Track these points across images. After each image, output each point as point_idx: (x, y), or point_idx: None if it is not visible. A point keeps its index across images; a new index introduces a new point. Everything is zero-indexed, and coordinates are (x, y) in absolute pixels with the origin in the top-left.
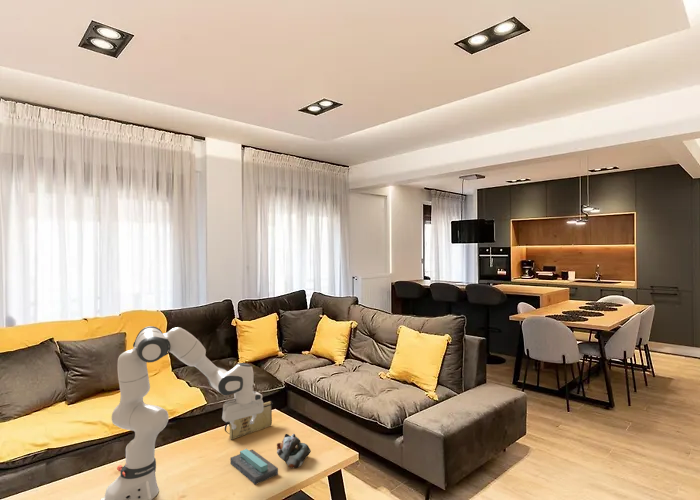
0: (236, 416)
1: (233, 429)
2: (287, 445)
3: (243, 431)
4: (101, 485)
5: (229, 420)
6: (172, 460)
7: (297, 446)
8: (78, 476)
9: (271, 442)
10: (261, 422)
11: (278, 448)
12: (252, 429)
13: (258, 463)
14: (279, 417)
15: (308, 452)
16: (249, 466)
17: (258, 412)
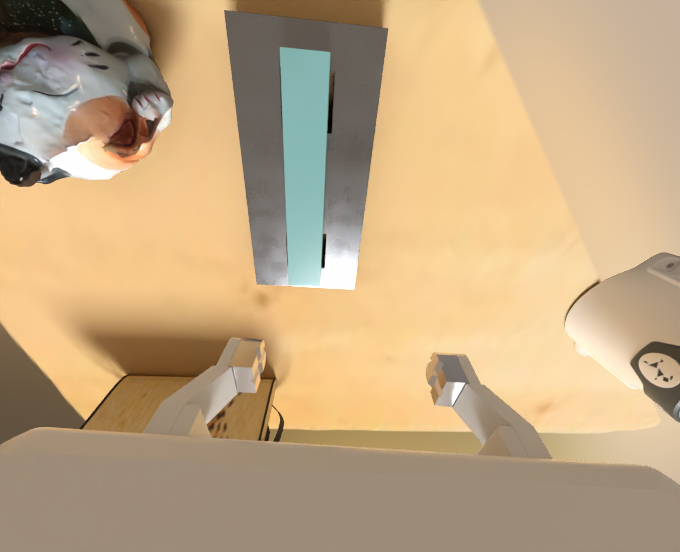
0: (538, 524)
1: (460, 354)
2: (51, 57)
3: None
4: (601, 388)
5: (638, 483)
6: None
7: None
8: (584, 431)
9: (160, 296)
10: (151, 396)
11: (143, 123)
12: None
13: (317, 112)
14: (83, 395)
15: None
16: (339, 172)
17: (83, 453)
